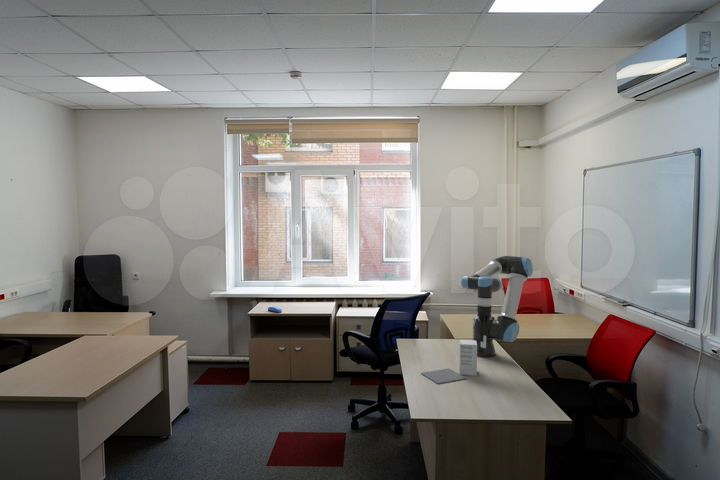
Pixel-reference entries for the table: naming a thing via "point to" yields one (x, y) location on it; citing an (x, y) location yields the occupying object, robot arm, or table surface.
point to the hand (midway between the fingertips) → (483, 347)
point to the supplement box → (468, 357)
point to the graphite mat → (443, 376)
